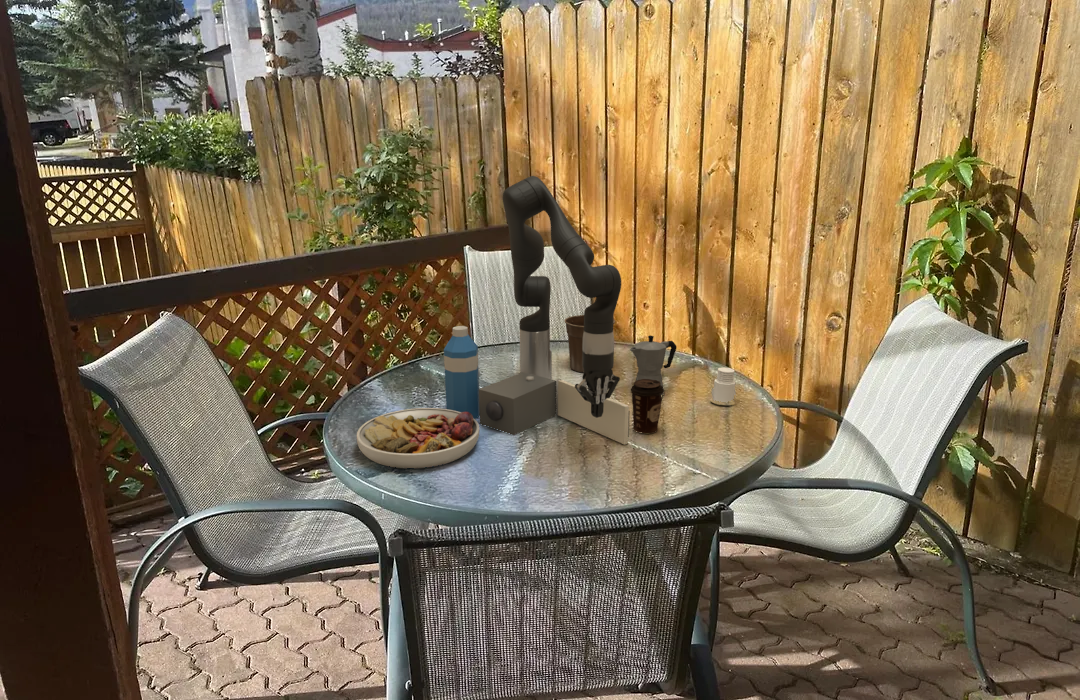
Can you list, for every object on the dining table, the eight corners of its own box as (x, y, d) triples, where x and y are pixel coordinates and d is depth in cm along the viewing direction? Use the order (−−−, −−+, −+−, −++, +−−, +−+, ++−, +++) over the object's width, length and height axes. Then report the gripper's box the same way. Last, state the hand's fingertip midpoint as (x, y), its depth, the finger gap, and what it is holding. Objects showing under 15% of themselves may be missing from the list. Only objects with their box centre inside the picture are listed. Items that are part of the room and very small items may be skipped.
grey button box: (522, 405, 218) (522, 369, 215) (556, 414, 211) (556, 377, 208) (476, 425, 204) (475, 387, 201) (510, 436, 197) (510, 397, 194)
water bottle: (486, 412, 213) (483, 325, 206) (469, 424, 205) (466, 334, 198) (457, 407, 217) (454, 322, 210) (439, 418, 209) (435, 330, 202)
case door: (555, 414, 210) (555, 379, 208) (560, 412, 212) (560, 378, 209) (624, 444, 190) (625, 407, 188) (629, 442, 192) (630, 405, 189)
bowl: (371, 483, 172) (369, 451, 170) (348, 435, 199) (345, 407, 196) (496, 460, 183) (496, 430, 181) (459, 418, 210) (458, 391, 208)
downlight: (718, 408, 215) (722, 374, 212) (703, 400, 221) (707, 367, 218) (741, 405, 218) (745, 372, 215) (726, 397, 224) (729, 365, 222)
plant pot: (588, 357, 262) (589, 311, 257) (624, 368, 251) (625, 320, 246) (554, 367, 252) (554, 319, 247) (589, 379, 240) (590, 329, 236)
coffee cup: (665, 426, 203) (667, 379, 199) (659, 437, 195) (661, 389, 192) (633, 422, 206) (634, 376, 202) (626, 433, 198) (627, 386, 194)
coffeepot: (637, 402, 220) (639, 342, 215) (621, 392, 228) (622, 334, 223) (682, 395, 226) (685, 336, 221) (665, 385, 234) (668, 328, 229)
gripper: (608, 340, 190) (607, 406, 195) (566, 350, 182) (566, 417, 187) (629, 347, 184) (627, 414, 189) (587, 357, 176) (586, 427, 181)
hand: (597, 416), depth 188 cm, fingers closed
